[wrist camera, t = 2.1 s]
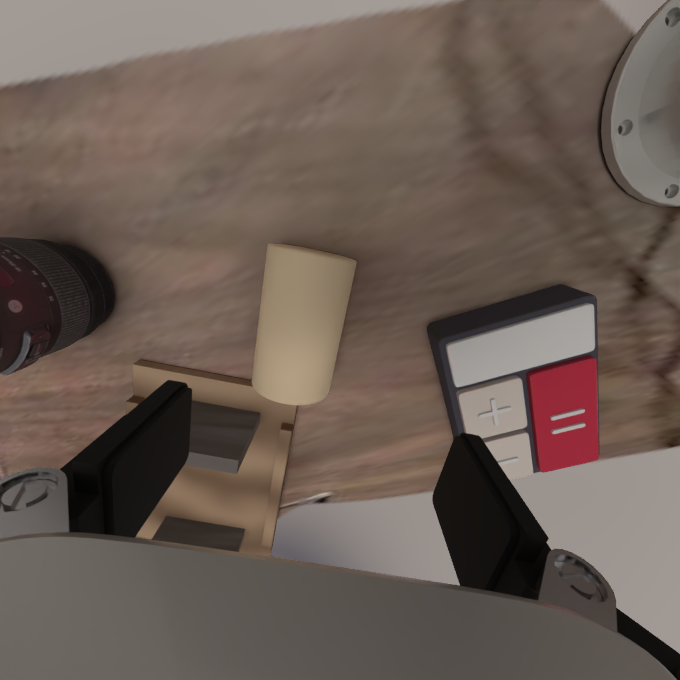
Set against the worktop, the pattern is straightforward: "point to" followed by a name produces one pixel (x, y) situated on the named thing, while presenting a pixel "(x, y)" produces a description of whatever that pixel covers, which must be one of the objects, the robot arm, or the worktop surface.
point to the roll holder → (221, 463)
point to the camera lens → (47, 299)
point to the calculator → (524, 378)
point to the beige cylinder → (300, 323)
